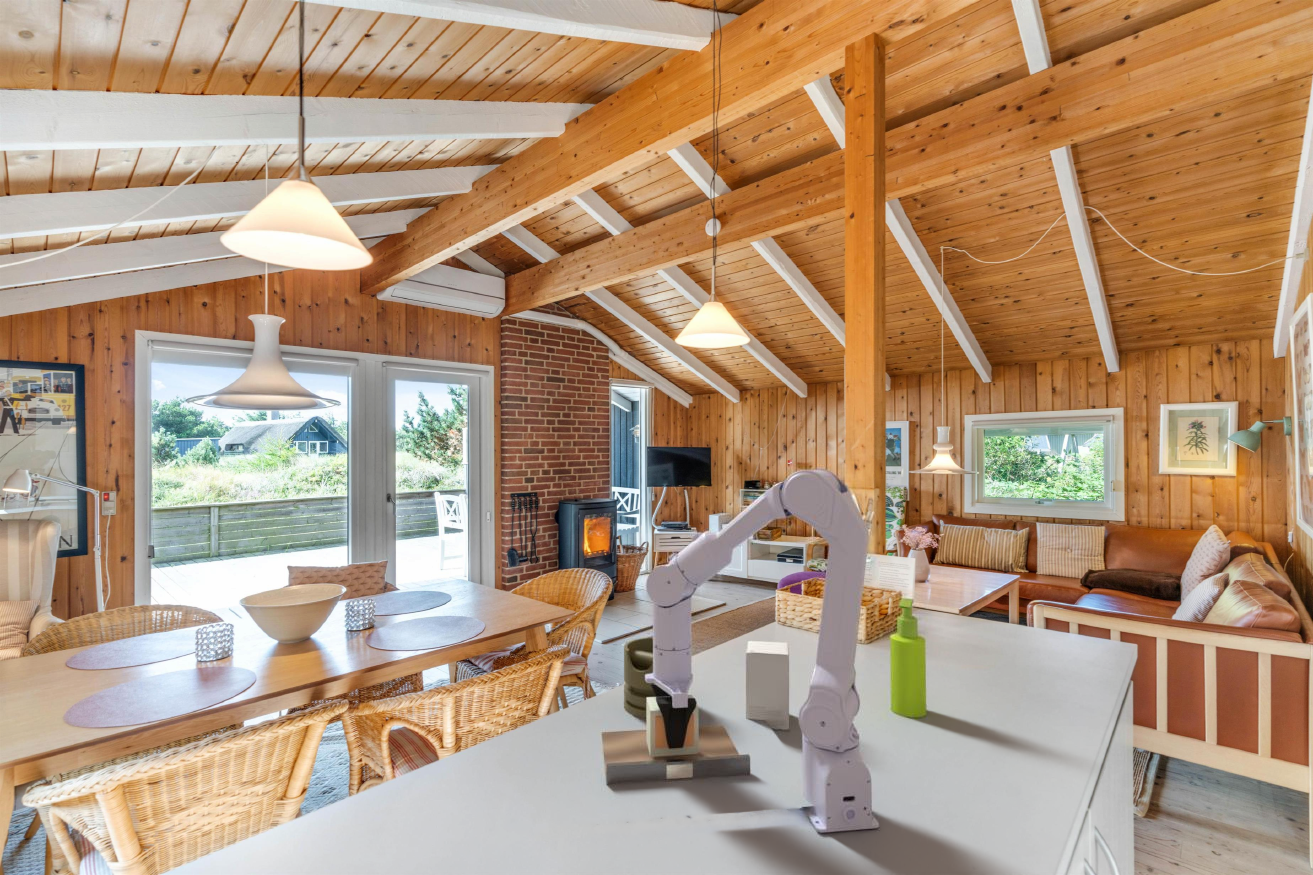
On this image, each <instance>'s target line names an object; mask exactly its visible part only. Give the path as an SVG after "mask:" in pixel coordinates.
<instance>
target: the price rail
mask: <svg viewBox="0 0 1313 875" xmlns="http://www.w3.org/2000/svg"><path fill="white" fill-rule="evenodd" d="M738 775H743V776H751V756H750V754H739V755H732V756H716V757H701V758H685V759H669V760H654V761H638V762H623V763H607V764H606V774H605V783H606V784H612V785H622V784H621V783H627V784H637V783H636V782H641V783H651V782H650V781H656V782H665V780H670V781H680V780H679V779H685V780H695V779H694V778H699V779H709V778H708V777H714V778H724V777H723V776H728V777H738ZM606 784H605V785H606Z"/></svg>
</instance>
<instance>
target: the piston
mask: <svg viewBox="0 0 1313 875" xmlns="http://www.w3.org/2000/svg"><path fill="white" fill-rule="evenodd" d="M652 673H653V636H650V637H649V636H647V637H640V638H635V639H632V640H630V641H627V642H625V644H624V645H623V681H624V683H625V684H624V685H623V708H624V711H625V712H627V713H628V714H629V715H631V716H633V717H637V718H641V719H644V720H645V719H646V697H656V695H655V693H654V690H653V688H652V686H651V684H650V683H647V682H646V681H645V675H646V674H652Z"/></svg>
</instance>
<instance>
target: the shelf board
mask: <svg viewBox="0 0 1313 875" xmlns="http://www.w3.org/2000/svg"><path fill="white" fill-rule="evenodd" d="M601 740H602V752H603V761H604V772H605V775H606V764H607V763H623V762H638V761H654V760H669V759H685V758H701V757H716V756H732V755H740V753H739V752H738V749H737V748H736V746H735V744H734V743H733V741H732V739H731V736H730V735H729V733H728V731H727V730H726V728H725V725H721V724H720V725H707V726H706V725H705V726H699V754H688V755H672V756H656V757H650V753H649V749H648V745H647V741H646V729H634V730H621V731H620V730H618V731H603V732H601ZM738 776H739V777H740V776H744V775H738ZM738 776H737V777H738ZM728 777H729V776H723V777H722V778H728ZM712 778H713V779H714V778H715V777H708V778H707V779H712ZM695 779H696V780H698V779H700V778H694V779H693V780H695ZM683 780H686V779H679V780H678V781H683ZM665 781H671V780H665ZM665 781H664V782H665ZM653 782H654V783H655V782H657V781H650V782H649V783H653ZM637 783H642V782H636V783H635V784H637ZM623 784H628V783H621V784H620V785H623ZM605 785H606V786H608V785H609V786H612V785H613V784H605Z"/></svg>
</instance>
